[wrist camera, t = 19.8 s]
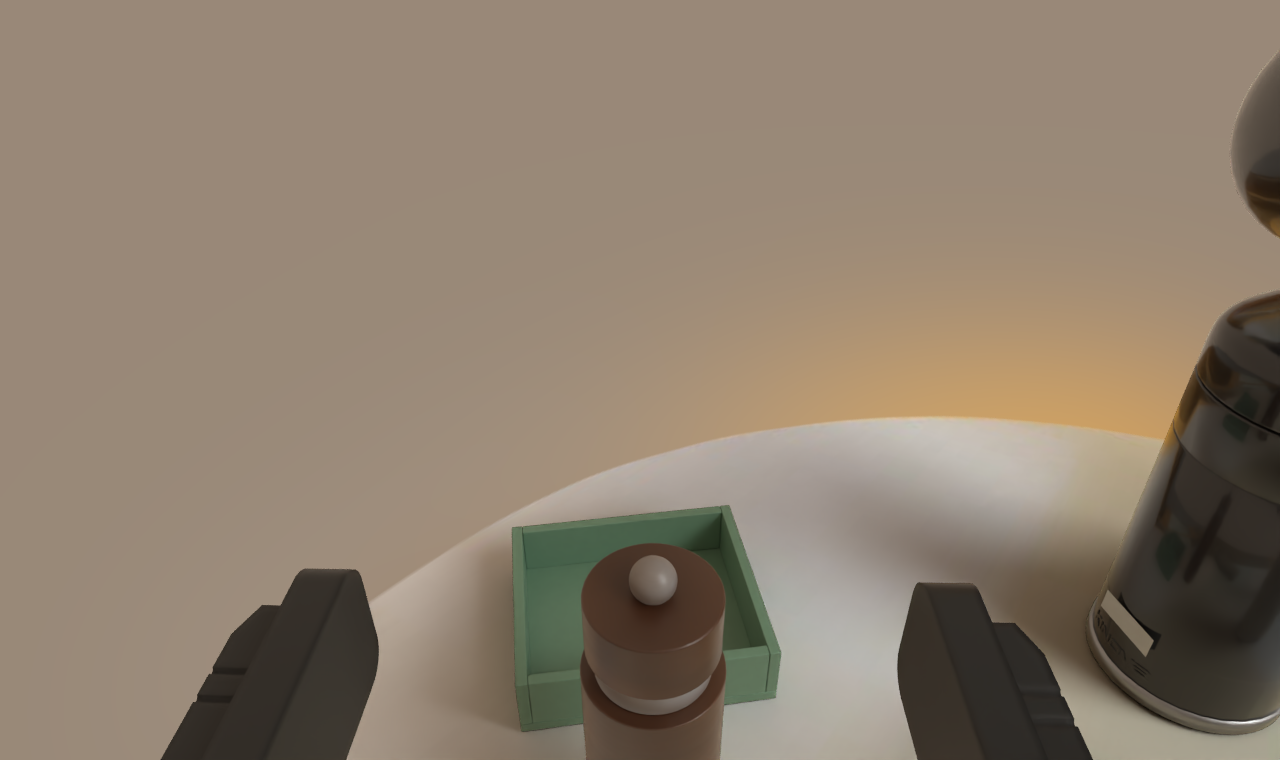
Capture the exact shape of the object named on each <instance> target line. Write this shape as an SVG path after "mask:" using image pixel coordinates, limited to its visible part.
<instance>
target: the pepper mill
mask: <svg viewBox="0 0 1280 760" xmlns="http://www.w3.org/2000/svg"><path fill="white" fill-rule="evenodd" d="M725 604H726V597H725V590H724V586H723V584H722V581H721V579H720V577H719V576H718V574H717V572H716V571H715V570H714V568H713V567H712V566H711V565H710V564H709V563H708V562H707V561H705V560H704V559H703V558H701V557H700V556H698V555H697V554H695V553H693V552H691V551H689V550H687V549H684V548H681V547H678V546H674V545H669V544H662V543H644V544H637V545H632V546H628V547H624V548H622V549H619V550H617V551H615V552H613V553H611V554H609V555H607V556H606V557H604V558H603V559H602V560H600V561H599V562H598V563H597V564H596V565H595V566H594V567H593V568H592V570H591V571H590V572H589V574H588V575H587V577H586V579H585V581H584V584H583V587H582V591H581V611H582V627H583V642H584V650H583V653H582V656H581V661H580V682H581V696H582V710H583V724H584V737H585V751H586V760H720V750H721V737H722V724H723V711H724V698H725V685H726V661H725V656H724V653H723V651H722V646H723V632H724V618H725Z"/></svg>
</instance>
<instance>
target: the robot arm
mask: <svg viewBox="0 0 1280 760" xmlns="http://www.w3.org/2000/svg"><path fill="white" fill-rule="evenodd" d="M1230 163H1231V174H1232V177H1233V180H1234V184H1235V187H1236V190H1237V193H1238V195H1239V196H1240V198H1241V200H1242V202H1243V204H1244V206H1245V208H1246V209H1247V211H1248V212H1249V213H1250V214H1251V215H1252V216H1253V218H1254V219H1255V220H1256V221H1257V222H1258V223H1259V224H1260V225H1261V226H1262V227H1263V228H1265V229H1266V230H1267V231H1269V232H1270V233H1271V234H1273V235H1274V236H1275V237H1277V238H1279V239H1280V49H1279V50H1278V51H1277V52H1276V53H1275V55H1274V56H1273V57H1272V58H1271V59H1270V61H1269V62H1268V63H1267V64H1266V65H1265V67H1264V68H1263V69H1262V70H1261V71H1260V73H1259V74H1258V76H1257V77H1256V79H1255V80H1254V82H1253V83H1252V85H1251V87H1250V89H1249V90H1248V92H1247V94H1246V96H1245V98H1244V100H1243V102H1242V104H1241V107H1240V109H1239V111H1238V114H1237V117H1236V120H1235V123H1234V126H1233V131H1232V136H1231V143H1230ZM1086 636H1087V641H1088V644H1089V647H1090V649H1091V651H1092V654H1093V655H1094V657H1095V659H1096V661H1097V662H1098V664H1099V665H1100V667H1101V668H1102V669H1103V670H1104V672H1105V673H1106V674H1107V675H1108V676H1109V677H1110V679H1111V680H1112V681H1113V682H1114V683H1115V684H1116V685H1118V686H1119V687H1120V688H1121V689H1122V690H1123V691H1124V692H1125V693H1127V694H1128V695H1129V696H1131V697H1132V698H1133V699H1135V700H1136V701H1137V702H1139V703H1140V704H1142V705H1143V706H1145V707H1146V708H1148V709H1150V710H1152V711H1153V712H1155V713H1157V714H1159V715H1161V716H1163V717H1165V718H1167V719H1169V720H1172V721H1174V722H1176V723H1179V724H1182V725H1184V726H1187V727H1190V728H1194V729H1197V730H1201V731H1206V732H1211V733H1217V734H1227V735H1238V734H1248V733H1253V732H1256V731H1259V730H1262V729H1264V728H1266V727H1268V726H1269V725H1271V724H1272V723H1274V722H1275V720H1276V719H1277V718H1278V717H1279V716H1280V289H1276V290H1272V291H1268V292H1264V293H1261V294H1257V295H1254V296H1251V297H1248V298H1246V299H1243V300H1241V301H1239V302H1237V303H1235V304H1234V305H1232V306H1230V307H1229V308H1228V309H1226V310H1225V311H1224V312H1223V313H1222V314H1221V315H1220V316H1219V317H1218V319H1217V320H1216V322H1215V323H1214V325H1213V326H1212V328H1211V330H1210V332H1209V334H1208V336H1207V339H1206V341H1205V344H1204V346H1203V349H1202V351H1201V353H1200V356H1199V358H1198V361H1197V364H1196V366H1195V368H1194V371H1193V373H1192V375H1191V378H1190V380H1189V383H1188V385H1187V387H1186V390H1185V392H1184V394H1183V397H1182V399H1181V402H1180V404H1179V406H1178V409H1177V411H1176V413H1175V416H1174V419H1173V421H1172V424H1171V427H1170V428H1169V431H1168V433H1167V436H1166V438H1165V440H1164V443H1163V445H1162V447H1161V450H1160V452H1159V454H1158V457H1157V459H1156V462H1155V464H1154V466H1153V469H1152V471H1151V473H1150V476H1149V478H1148V481H1147V483H1146V485H1145V488H1144V490H1143V492H1142V495H1141V497H1140V499H1139V502H1138V504H1137V507H1136V509H1135V511H1134V514H1133V516H1132V518H1131V521H1130V523H1129V526H1128V528H1127V530H1126V533H1125V535H1124V537H1123V540H1122V542H1121V545H1120V547H1119V549H1118V552H1117V554H1116V556H1115V559H1114V561H1113V563H1112V566H1111V568H1110V570H1109V573H1108V575H1107V577H1106V580H1105V582H1104V585H1103V587H1102V589H1101V592H1100V594H1099V596H1098V597H1097V598H1096V600H1095V601H1094V603H1093V605H1092V608H1091V610H1090V613H1089V615H1088V618H1087V621H1086ZM378 656H379V646H378V638H377V634H376V630H375V626H374V623H373V619H372V615H371V611H370V608H369V604H368V601H367V596H366V593H365V589H364V585H363V582H362V578H361V576H360V574H359V572H358V571H357V570H350V569H347V570H346V569H303V570H302V571H300V572H299V573H298V575H297V576H296V577H295V579H294V581H293V583H292V585H291V587H290V589H289V590H288V592H287V594H286V596H285V598H284V600H283V602H282V604H281V606H273V605H262V606H261V607H260V608H259V609H258V610H257V611H255V612H254V613H253V614H252V615H251V616H250V617H249V618H248V619H247V620H246V621H245V622H244V623H243V624H242V625H241V626H239V627H238V628H237V629H236V630H235V631H234V632H233V633H232V634H231V636H230V638H229V639H228V641H227V643H226V645H225V647H224V648H223V650H222V652H221V654H220V656H219V657H218V659H217V661H216V663H215V664H214V666H213V672H212V674H209V675H208V677H207V678H206V680H205V682H204V684H203V686H202V687H201V689H200V691H199V693H198V694H197V701H196V702H193V703H192V705H191V707H190V709H189V710H188V712H187V714H186V716H185V717H184V719H183V721H182V723H181V725H180V726H179V728H178V730H177V732H176V734H175V735H174V737H173V739H172V741H171V742H170V744H169V746H168V748H167V750H166V751H165V753H164V755H163V757H162V759H161V760H346V759H347V756H348V753H349V750H350V747H351V745H352V742H353V739H354V736H355V734H356V731H357V728H358V725H359V722H360V720H361V717H362V714H363V711H364V708H365V706H366V703H367V700H368V697H369V694H370V692H371V689H372V686H373V683H374V680H375V676H376V672H377V666H378ZM897 670H898V683H899V690H900V695H901V700H902V703H903V707H904V711H905V714H906V718H907V722H908V726H909V729H910V733H911V737H912V740H913V744H914V748H915V752H916V755H917V759H918V760H1093V759H1092V757H1091V754H1090V752H1089V750H1088V748H1087V746H1086V744H1085V741H1084V739H1083V737H1082V735H1081V733H1080V731H1079V728H1078V727H1075V725H1074V718H1073V715H1072V713H1071V711H1070V709H1069V707H1068V705H1067V702H1066V700H1065V698H1064V697H1062V696H1061V694H1060V690H1061V689H1060V687H1059V685H1058V683H1057V681H1056V679H1055V676H1054V674H1053V672H1052V670H1051V668H1050V666H1049V663H1048V661H1047V659H1046V657H1045V655H1044V653H1043V652H1042V651H1041V650H1040V649H1039V648H1038V647H1037V646H1036V645H1035V644H1034V643H1033V642H1032V641H1031V640H1030V639H1029V638H1028V636H1027V635H1026V634H1025V633H1024V632H1023V631H1022V630H1021V629H1020V628H1019V627H1018V626H1017V625H1016V624H1015V623H992V621H991V619H990V616H989V614H988V611H987V609H986V607H985V604H984V602H983V599H982V597H981V595H980V593H979V591H978V589H977V588H976V586H975V585H973V584H970V583H922V582H919V583H917V584H916V586H915V588H914V591H913V595H912V599H911V603H910V607H909V611H908V615H907V619H906V623H905V627H904V631H903V636H902V640H901V644H900V648H899V653H898V664H897Z"/></svg>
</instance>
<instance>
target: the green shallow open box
mask: <svg viewBox="0 0 1280 760" xmlns="http://www.w3.org/2000/svg"><path fill="white" fill-rule="evenodd" d="M644 543H662V544H669V545H674V546H678V547H681V548H684V549H687V550H689V551H691V552H693V553H695V554H697V555H698V556H700V557H701V558H703V559H704V560H705V561H707V562H708V563H709V564H710V565H711V566H712V567H713V568H714V570H715V571H716V572H717V574H718V576H719V577H720V579H721V581H722V584H723V586H724V590H725V597H726V604H725V618H724V632H723V646H722V651H723V653H724V656H725V661H726V685H725V698H724V705H726V704H734V703H741V702H749V701H756V700H764V699H771V698H775V697H776V690H777V682H778V674H779V666H780V659H781V651H780V648H779V645H778V642H777V639H776V636H775V634H774V631H773V628H772V625H771V622H770V619H769V617H768V614H767V611H766V608H765V605H764V602H763V600H762V597H761V594H760V591H759V588H758V586H757V583H756V580H755V577H754V574H753V571H752V569H751V566H750V563H749V560H748V557H747V554H746V552H745V549H744V546H743V543H742V540H741V538H740V535H739V532H738V529H737V526H736V523H735V521H734V518H733V515H732V512H731V509H730V506H729V505H725V506H720V507H719V506H716V507H706V508H697V509H687V510H677V511H668V512H658V513H649V514H639V515H629V516H620V517H610V518H601V519H591V520H581V521H572V522H562V523H552V524H543V525H533V526H524V527H513V528H512V558H513V607H514V655H515V689H516V696H517V703H518V710H519V718H520V724H521V731H531V730H538V729H546V728H553V727H561V726H568V725H576V724H583V710H582V696H581V682H580V661H581V656H582V653H583V650H584V642H583V627H582V611H581V591H582V587H583V584H584V581H585V579H586V577H587V575H588V574H589V572H590V571H591V570H592V568H593V567H594V566H595V565H596V564H597V563H598V562H599V561H600V560H602V559H603V558H604V557H606V556H607V555H609V554H611V553H613V552H615V551H617V550H619V549H622V548H624V547H628V546H632V545H637V544H644Z"/></svg>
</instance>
